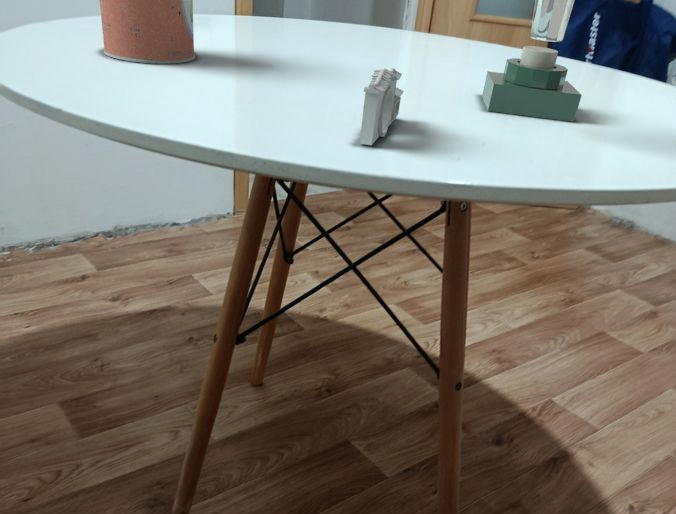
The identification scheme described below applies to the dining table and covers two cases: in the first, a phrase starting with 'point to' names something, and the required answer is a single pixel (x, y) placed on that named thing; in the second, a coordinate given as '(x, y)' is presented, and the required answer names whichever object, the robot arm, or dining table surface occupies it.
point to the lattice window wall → (380, 105)
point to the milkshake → (550, 19)
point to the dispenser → (531, 92)
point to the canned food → (148, 30)
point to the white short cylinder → (539, 57)
